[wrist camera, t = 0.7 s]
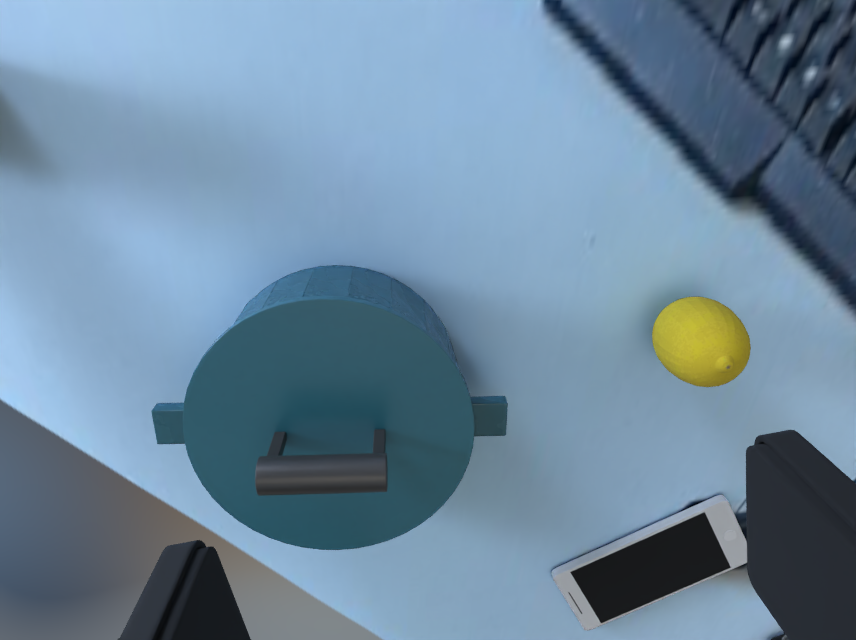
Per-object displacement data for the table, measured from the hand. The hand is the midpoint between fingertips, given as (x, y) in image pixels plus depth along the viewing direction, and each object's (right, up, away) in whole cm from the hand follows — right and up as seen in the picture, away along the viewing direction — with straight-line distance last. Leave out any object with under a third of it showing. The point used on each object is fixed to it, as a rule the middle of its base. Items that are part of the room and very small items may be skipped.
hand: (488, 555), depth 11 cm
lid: (-7, -3, +28) cm, 29 cm away
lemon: (+17, +4, +35) cm, 39 cm away
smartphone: (+18, -16, +43) cm, 49 cm away
